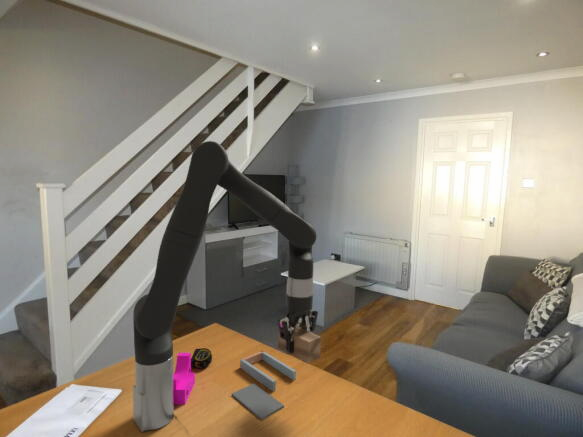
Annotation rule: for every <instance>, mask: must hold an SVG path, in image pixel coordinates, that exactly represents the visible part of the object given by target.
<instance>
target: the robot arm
mask: <svg viewBox="0 0 583 437" xmlns="http://www.w3.org/2000/svg"><path fill="white" fill-rule="evenodd" d="M217 186H219V187H220V188H222V189H224V190H225V191H227V192H228V193H230V194H231V195H233V196H234V197H235V198H236V199H238V201H240V202H241V203H242V204H243V205H245V206H246V207H247V208H248V209H249V210H250V211H252V212H253V213H254V214H256V216H258V217H259V218H260V219H262V220H263V221H264V222H265V223H267V224H268V225H269V226H270V227H272V228H273V229H275V230H277V231H278V233H280V234H281V235H282V236H283V238H286V240H287V241H288V252H289V253H288V254H289V258H288V264H287V265H288V266H287V268H288V269H287V271H288V272H287V281H286V292H285V294H286V295H285V296H286V297H285V307H286V310H287V313H286V315H285V317H284V318H282V319H281V318H279V319H277V320H278V321H277V325H278V332H280V338H282V339H284V340H285V341H286V351H287V352H288V354H289V353H290V354H289V355H291V354H292V353H294V341H293V340H294V337H295V334H296V333H297V332H298V329H299V328H301V329H304V330H306V331H309V332H311V333H312V332H314V331H315V329H316V324H317V320H318V314H319V311H317V310H315V309H313V302H314V300H313V299H314V259H313V255H312V251H313V246H314V244H315V242H316V241H317V232H316V229H315V228H314V227H313V226H312V225H311V224H310V223H309V222H307V221H306V220H305V219H303V218H302V217H300V216H299V215H297V214H296V213H294V211H292V210H291V209H290V207H289V206H287V205H286V203H284V202H282V200H280V199H279V198H278V197H276V196H275V195H274V194H272V193H271V192H270V191H268V190H267V189H265V188H264V187H262V186H261V185H258V184H257V183H255V182H254V181H252V180H251V179H250V178H248V177H247V176H246V175H245V174H243V173H242V172H241V171H240V170H238V168H236V166H234V165H233V163H232V162H231V161H230V159H229V155H228V153H227V151H226V149H225V148H224V147H223V146H222V145H221V144H220V143H218V142H216V141H214V140H213V141H212V140H207V141H204V142H201V143H200V144H199V145H197V146H196V147H195V149H194V150H193V152H192V154H191V158H190V163H189V167H188V170H187V175H186V178H185V181H184V185H183V188H182V190H181V193H180V195H179V198H178V200H177V202H176V203H175V206H174V208H173V211H172V212H171V215H170V217H169V220H168V223H167V225H166V228H165V230H164V232H163V236H162V238H161V241H160V245H159V250H158V254H157V259H156V266H155V273H154V278H153V282H152V284H151V286H150V288H149V290H148V293H147V294H145V295H143V296H142V297H141V298H139V299H138V300H137V302H136V303H135V305H134V308H133V312H132V313H133V315H132V316H133V345H134V346H133V347H134V368H135V369H134V373H135V374H134V375H135V378H134V379H135V385H133V386H132V399H133V400H132V402H133V403H132V406H133V421H134V422H135V424H136V426H137V427H138V429H139V430H140V432H142V433H143V432H145V431H151V430H159V429H160V428H163V427H165V426H167V424H169V423H170V422H172V420H173V418H174V414H175V412H174V411H175V406H174V405H175V404H174V392H173V374H174V343H173V336H172V326H173V325H174V322H175V318H176V315H177V310H178V305H179V302H180V298H181V293H182V290H183V287H184V284H185V282H186V279H187V277H188V275H189V273H190V271H191V267H192V266H193V262H194V260H195V257H196V255H197V252H198V250H199V248H200V244H201V242H202V239H203V236H204V234H205V229H206V225H207V221H208V218H209V212H210V204H211V201H212V198H213V196H214V193H215V190H216V189H217ZM291 327H293V328H294V329H292V328H291ZM290 332H291V336H290ZM287 352H286V353H287Z"/></svg>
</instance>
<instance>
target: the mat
mask: <svg viewBox="0 0 583 437" xmlns="http://www.w3.org/2000/svg"><path fill="white" fill-rule="evenodd" d="M231 396H232V397H233V398H235V399H236V400H237V401H238V402H239V403H240V404H242V405H243V406H244V407H245V408H246V409H248V410H249V411H250V412H251V413H252V414H253V415H255V416H256V417H257V418H258V419H260V420H261V421H263V420H264V419H266V418H268V417H269V416H271V415H273V414H274V413H276V412H279V411H280V410H282V409H283V408H285V405H284V404H283V403H282V402H281V401H279V400H277V398H275V397H273V396H272V395H271V394H269V392H266V390H264V389H262V387H260V386H259V385H258V384H256V383H251V384H249V385H248V386H245V387H243V388H241V389H238V390H237V391H234V392H232V393H231Z"/></svg>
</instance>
